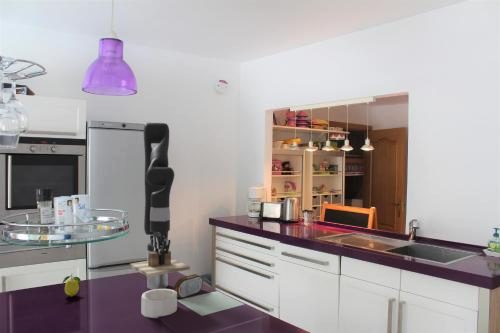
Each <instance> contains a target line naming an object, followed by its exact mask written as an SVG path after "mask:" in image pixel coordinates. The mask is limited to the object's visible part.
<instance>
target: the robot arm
mask: <svg viewBox="0 0 500 333" xmlns="http://www.w3.org/2000/svg"><path fill="white" fill-rule="evenodd" d="M143 143H144V144H143V146H144V197H145V198H144V201H145V202H144V220H143V222H144V224H143V226H144V227H143V230H144V234H145V235H147V236H149V239H150V242H148V243H147V246H146V247H147V260H146V261H148V253H150V252H157V251H159V265H163V264H165V254H168V251H170V245H171V239H169V231H171V211H170V197H171V196H170V195H171V189H172V185H173V182H174V179H175V171H174V170H173V168H172V167H169V154H168V153H169V145H170V144H169V143H170V128H169V124H167V123H164V122H146V123H145V124H144V126H143ZM152 144H157V145H156V146H154V148H152ZM168 277H169V273H167V274H162V275H156V276H151V277H147V276H146V279H147V282H146V285H147V286H146V288H147V289H149V290H154V289H167V287H168V286H169V284H168V283H169V282H168Z"/></svg>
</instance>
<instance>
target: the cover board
mask: <svg viewBox="0 0 500 333" xmlns="http://www.w3.org/2000/svg"><path fill="white" fill-rule="evenodd" d="M129 267H130V268H132V269H133V270H135V271H136V272H138V273H140V274H142V275H144V276H145V277H146V278H147V277H151V276H156V275H162V274H167V273H168V274H171V273H178V272H183V271H188V270H191V266H190V265H188V264H185V263H184V262H181V261H179V260H177V259H174V258H172V250H169V251H168V254H165V264H163V265H159V251H157V252H150V253H148V261H147V260H144V261H138V262H132V263H131V262H130V264H129Z"/></svg>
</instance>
